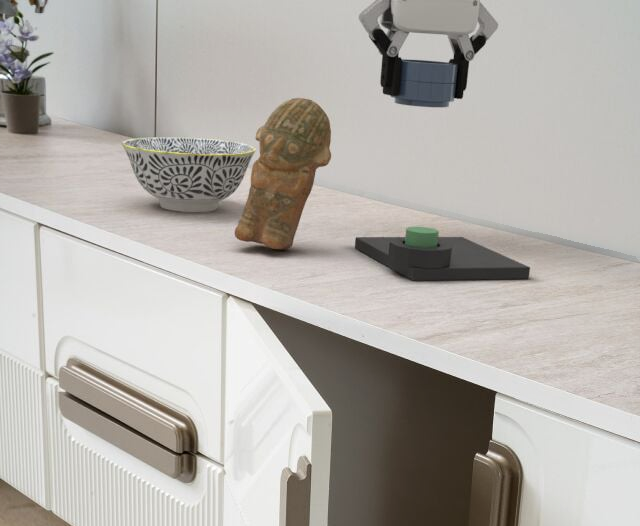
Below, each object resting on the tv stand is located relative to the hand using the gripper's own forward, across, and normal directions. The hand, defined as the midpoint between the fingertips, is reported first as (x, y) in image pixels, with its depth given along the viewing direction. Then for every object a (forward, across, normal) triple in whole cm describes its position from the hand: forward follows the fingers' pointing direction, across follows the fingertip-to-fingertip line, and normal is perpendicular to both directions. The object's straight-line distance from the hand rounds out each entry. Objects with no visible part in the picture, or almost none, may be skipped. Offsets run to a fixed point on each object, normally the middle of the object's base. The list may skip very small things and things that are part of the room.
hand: (422, 95), depth 125 cm
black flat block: (+16, +3, +14) cm, 21 cm away
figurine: (+16, +18, +8) cm, 25 cm away
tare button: (+13, +7, +19) cm, 24 cm away
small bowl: (+1, 0, 0) cm, 1 cm away
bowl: (+16, +23, -16) cm, 32 cm away
